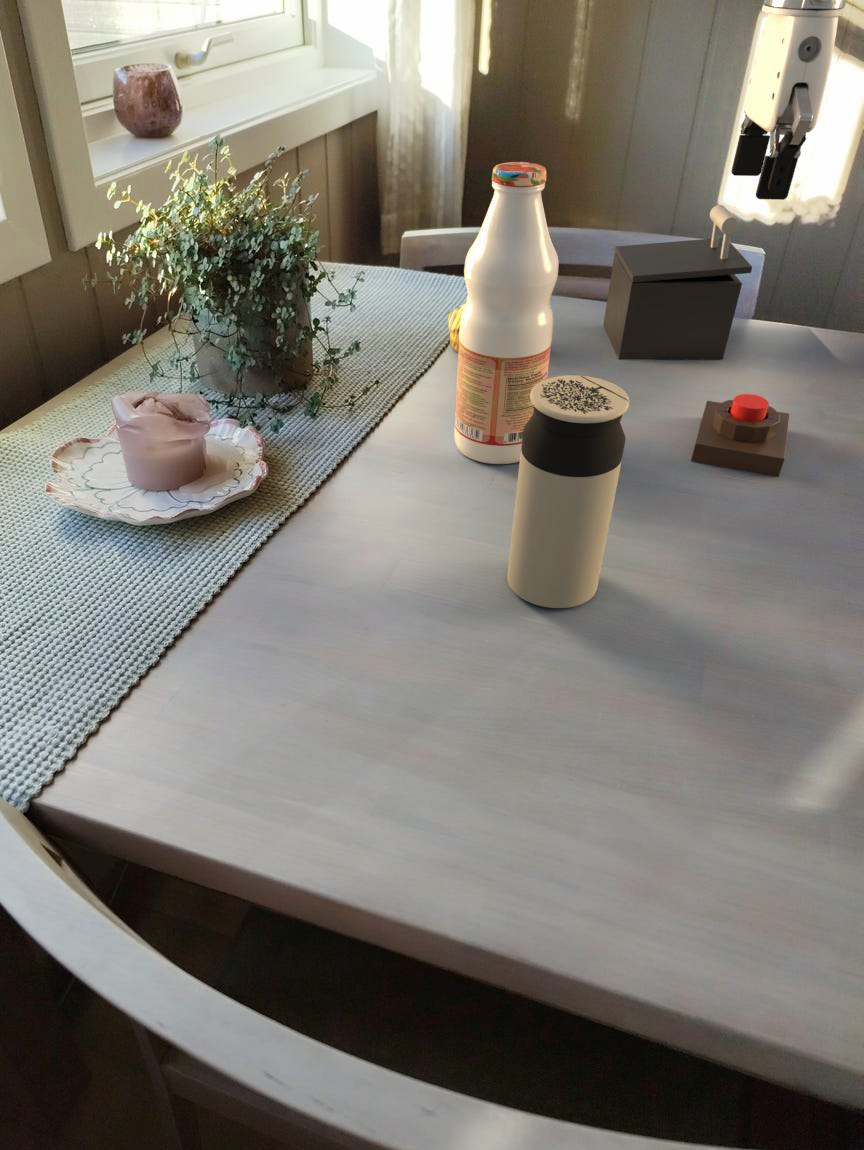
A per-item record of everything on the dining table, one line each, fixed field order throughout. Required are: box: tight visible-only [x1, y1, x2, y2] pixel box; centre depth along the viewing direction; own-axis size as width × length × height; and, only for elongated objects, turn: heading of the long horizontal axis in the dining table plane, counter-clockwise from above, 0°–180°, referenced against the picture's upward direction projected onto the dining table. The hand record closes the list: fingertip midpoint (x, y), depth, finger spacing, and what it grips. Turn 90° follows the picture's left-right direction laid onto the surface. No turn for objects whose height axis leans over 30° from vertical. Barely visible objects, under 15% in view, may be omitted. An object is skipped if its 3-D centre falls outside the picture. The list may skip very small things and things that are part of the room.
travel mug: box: [506, 374, 630, 609], centre depth 74 cm, size 8×8×18 cm
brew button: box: [730, 393, 770, 422], centre depth 96 cm, size 4×4×2 cm
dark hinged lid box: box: [602, 252, 743, 361], centre depth 118 cm, size 14×12×10 cm
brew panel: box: [690, 399, 790, 478], centre depth 98 cm, size 11×9×4 cm
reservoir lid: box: [614, 204, 753, 282], centre depth 112 cm, size 14×12×6 cm
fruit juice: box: [453, 161, 559, 465], centre depth 90 cm, size 9×9×28 cm
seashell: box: [447, 303, 465, 354], centre depth 118 cm, size 10×7×8 cm
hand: (757, 186), depth 98 cm, fingers open, 9 cm apart
